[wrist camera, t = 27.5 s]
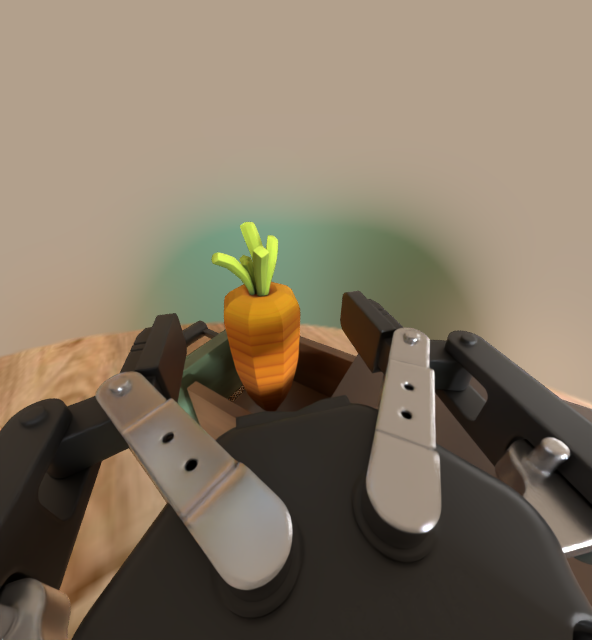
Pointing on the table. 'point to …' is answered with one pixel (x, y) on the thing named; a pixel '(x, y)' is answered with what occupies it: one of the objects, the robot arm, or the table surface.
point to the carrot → (261, 322)
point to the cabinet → (448, 435)
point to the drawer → (223, 381)
